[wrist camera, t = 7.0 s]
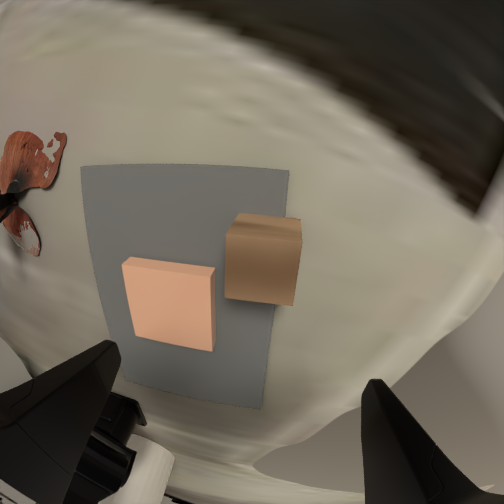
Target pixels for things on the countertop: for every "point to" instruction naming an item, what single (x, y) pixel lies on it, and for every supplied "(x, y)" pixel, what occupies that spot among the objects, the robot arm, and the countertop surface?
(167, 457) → the bottle
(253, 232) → the cube
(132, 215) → the mat
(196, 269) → the tile
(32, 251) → the figurine
